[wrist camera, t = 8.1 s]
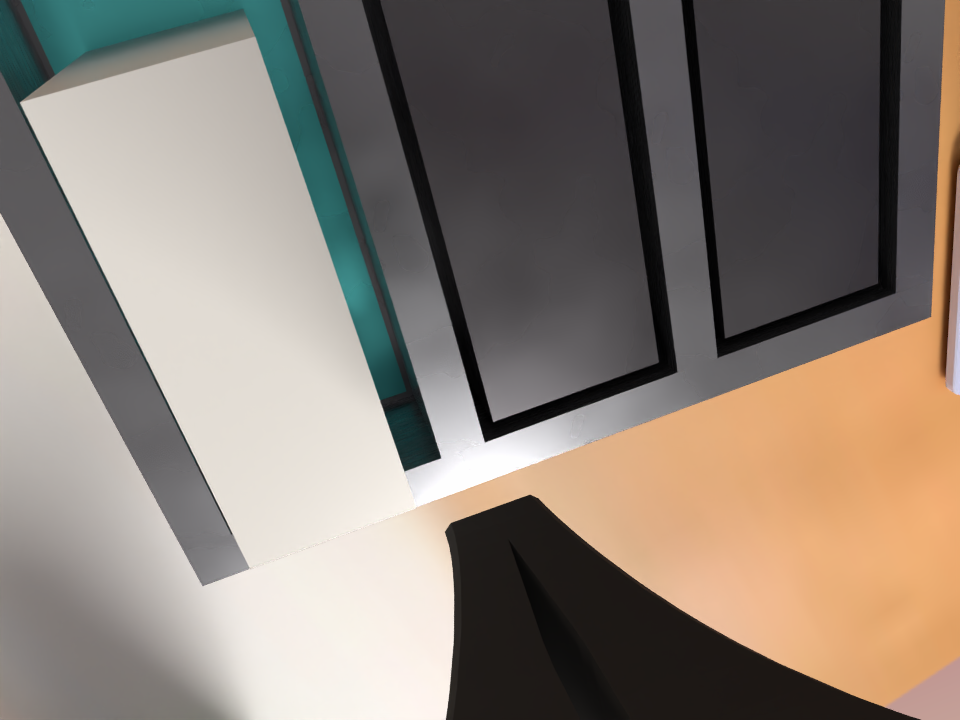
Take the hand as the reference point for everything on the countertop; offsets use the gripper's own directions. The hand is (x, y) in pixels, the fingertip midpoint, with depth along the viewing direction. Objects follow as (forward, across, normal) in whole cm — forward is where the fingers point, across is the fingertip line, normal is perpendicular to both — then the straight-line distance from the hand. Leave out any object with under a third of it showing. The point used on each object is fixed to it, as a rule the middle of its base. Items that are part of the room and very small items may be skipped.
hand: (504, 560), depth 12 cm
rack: (+10, -3, -4) cm, 11 cm away
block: (+9, +2, -3) cm, 10 cm away
